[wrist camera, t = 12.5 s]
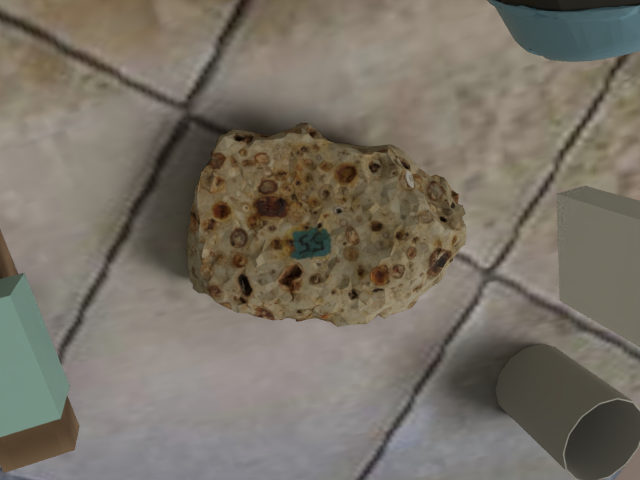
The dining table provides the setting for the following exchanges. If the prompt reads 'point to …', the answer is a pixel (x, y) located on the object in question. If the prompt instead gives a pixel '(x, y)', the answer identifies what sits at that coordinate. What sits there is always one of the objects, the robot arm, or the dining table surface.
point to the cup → (569, 412)
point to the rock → (318, 228)
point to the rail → (43, 437)
